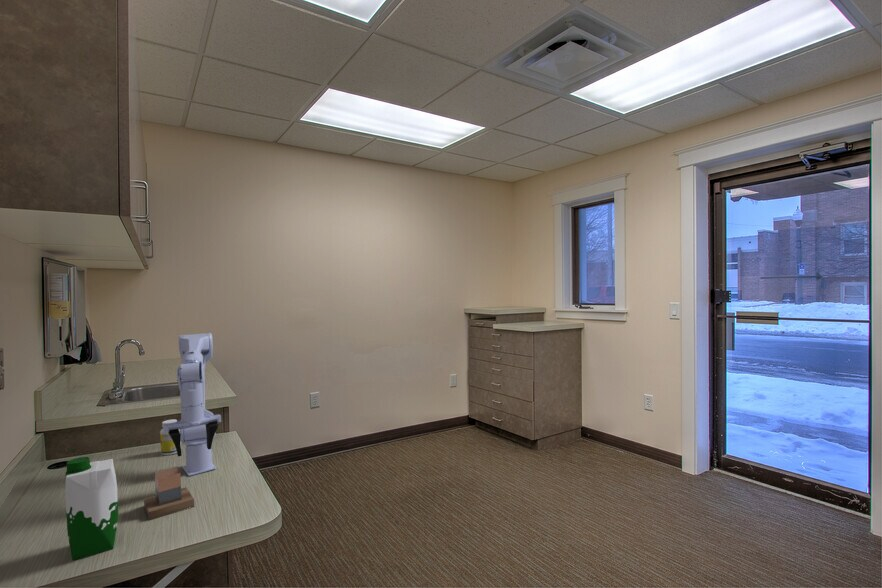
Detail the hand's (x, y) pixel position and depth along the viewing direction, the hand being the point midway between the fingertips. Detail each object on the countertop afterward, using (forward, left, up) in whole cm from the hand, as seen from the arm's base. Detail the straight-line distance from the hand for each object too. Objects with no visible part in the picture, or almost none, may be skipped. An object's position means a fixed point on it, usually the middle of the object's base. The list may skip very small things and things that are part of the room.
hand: (194, 451), depth 131 cm
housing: (+8, -8, -8) cm, 14 cm away
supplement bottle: (-41, 0, -11) cm, 42 cm away
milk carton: (+19, -24, -11) cm, 32 cm away
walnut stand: (+8, -8, -10) cm, 15 cm away
